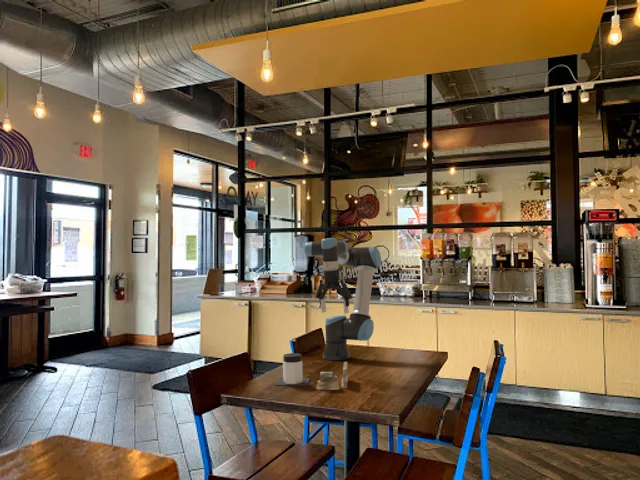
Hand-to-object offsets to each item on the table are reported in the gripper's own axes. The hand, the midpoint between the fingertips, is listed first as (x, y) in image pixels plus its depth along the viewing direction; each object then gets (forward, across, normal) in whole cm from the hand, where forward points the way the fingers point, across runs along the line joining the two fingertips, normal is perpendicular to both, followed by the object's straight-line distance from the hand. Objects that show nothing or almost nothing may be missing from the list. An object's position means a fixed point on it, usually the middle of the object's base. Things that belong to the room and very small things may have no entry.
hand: (335, 312), depth 233 cm
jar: (+25, -4, -31) cm, 40 cm away
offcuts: (+25, +15, -30) cm, 41 cm away
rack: (+27, +12, -23) cm, 37 cm away
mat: (+26, -5, -30) cm, 40 cm away
